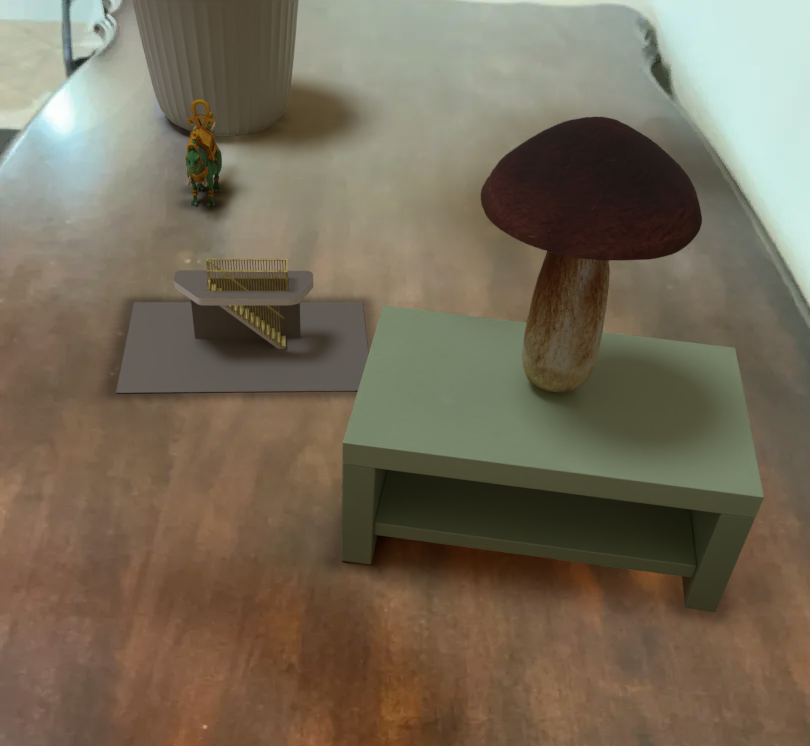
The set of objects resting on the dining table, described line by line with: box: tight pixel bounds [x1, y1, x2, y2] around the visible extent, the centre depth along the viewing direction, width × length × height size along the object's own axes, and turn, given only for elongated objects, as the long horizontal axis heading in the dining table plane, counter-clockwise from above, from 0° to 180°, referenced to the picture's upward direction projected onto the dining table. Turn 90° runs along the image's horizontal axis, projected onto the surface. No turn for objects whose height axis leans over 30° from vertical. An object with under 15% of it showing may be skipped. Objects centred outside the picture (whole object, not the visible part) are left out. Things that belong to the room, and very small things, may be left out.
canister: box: [131, 0, 299, 137], centre depth 96 cm, size 18×18×21 cm
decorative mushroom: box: [480, 116, 703, 393], centre depth 51 cm, size 11×11×15 cm
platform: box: [115, 258, 369, 394], centre depth 71 cm, size 12×18×7 cm, turn 95°
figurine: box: [184, 99, 223, 207], centre depth 88 cm, size 3×12×8 cm, turn 179°
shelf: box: [340, 304, 765, 613], centre depth 59 cm, size 22×14×9 cm, turn 82°
